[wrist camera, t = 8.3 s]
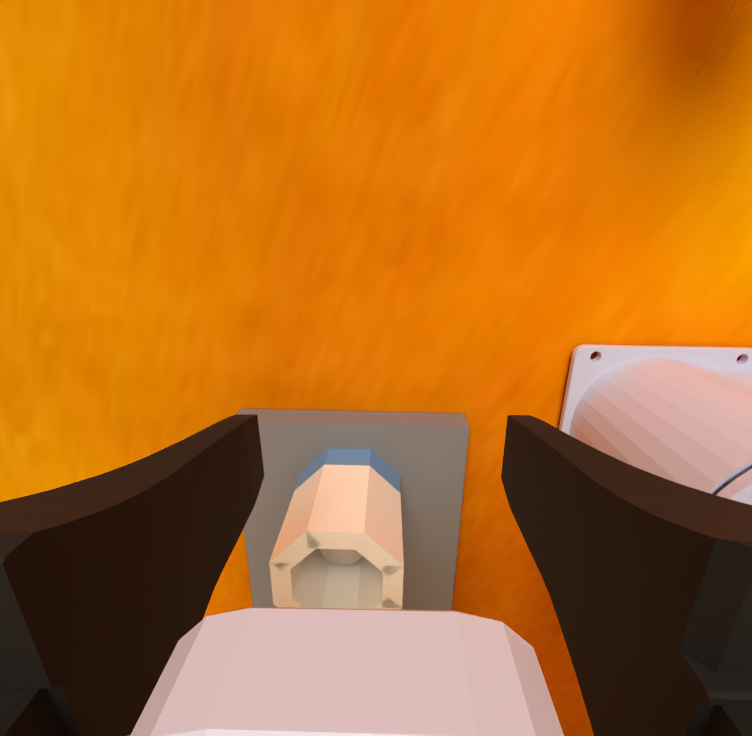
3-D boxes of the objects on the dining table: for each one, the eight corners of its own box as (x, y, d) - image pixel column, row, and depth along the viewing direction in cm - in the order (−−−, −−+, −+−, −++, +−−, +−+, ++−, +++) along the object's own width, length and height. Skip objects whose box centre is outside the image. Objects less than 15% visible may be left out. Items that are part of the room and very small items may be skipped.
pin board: (464, 413, 21) (488, 472, 16) (440, 673, 28) (452, 775, 23) (241, 408, 22) (195, 464, 17) (269, 667, 28) (242, 766, 23)
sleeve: (400, 449, 21) (405, 533, 15) (397, 532, 22) (401, 635, 17) (299, 447, 21) (265, 530, 15) (304, 529, 22) (275, 631, 17)
